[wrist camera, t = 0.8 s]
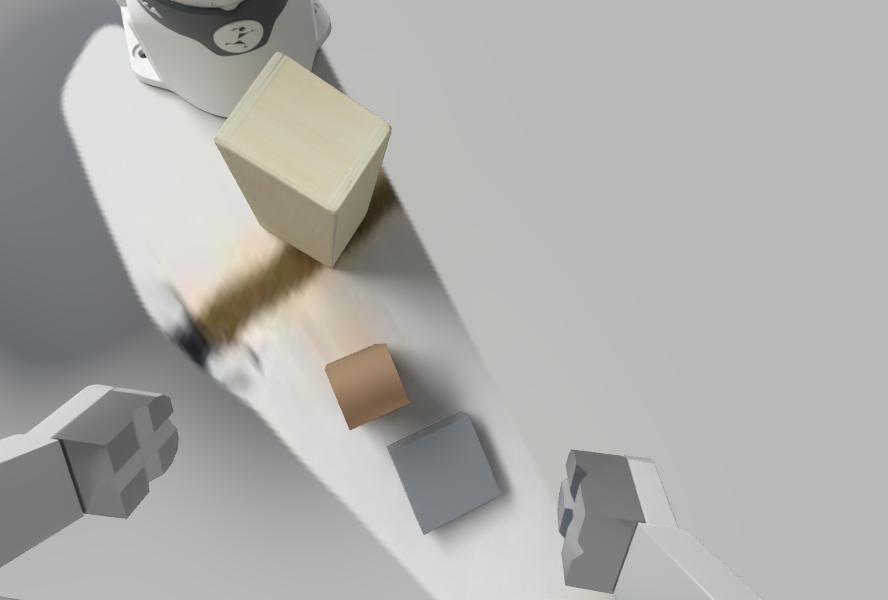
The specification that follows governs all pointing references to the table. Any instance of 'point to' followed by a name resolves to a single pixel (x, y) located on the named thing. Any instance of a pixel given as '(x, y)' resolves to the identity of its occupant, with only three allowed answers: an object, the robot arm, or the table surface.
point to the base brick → (444, 471)
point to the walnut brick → (366, 385)
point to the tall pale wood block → (304, 157)
